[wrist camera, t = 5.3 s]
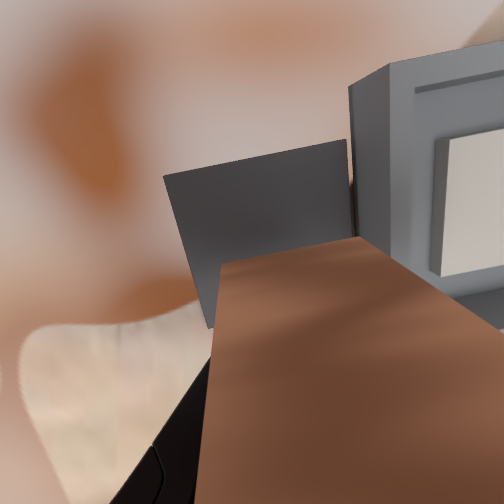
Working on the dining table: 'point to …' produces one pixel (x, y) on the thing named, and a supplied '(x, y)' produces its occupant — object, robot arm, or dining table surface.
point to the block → (348, 386)
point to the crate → (436, 171)
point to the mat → (259, 209)
